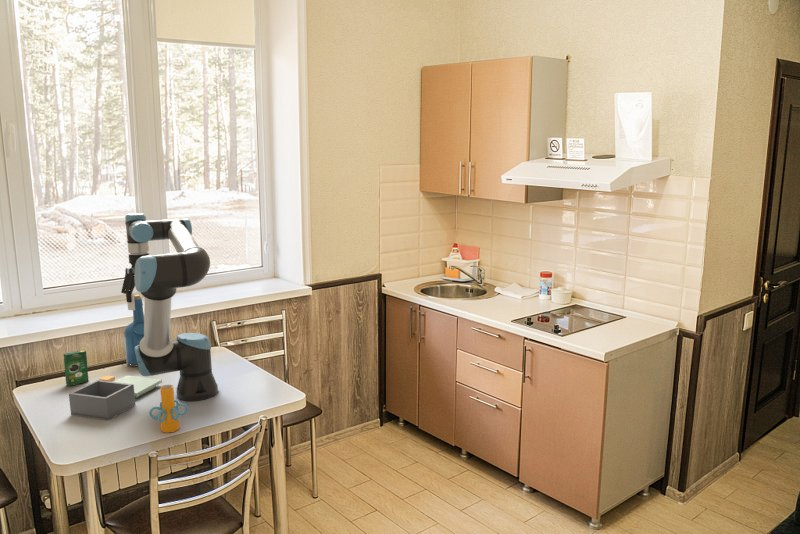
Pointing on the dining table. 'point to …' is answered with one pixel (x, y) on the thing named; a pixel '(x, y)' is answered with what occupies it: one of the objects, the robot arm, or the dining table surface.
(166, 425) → the orange post with rings
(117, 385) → the tub
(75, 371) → the coffee box
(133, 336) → the wine bottle
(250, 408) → the dining table surface
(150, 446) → the dining table surface
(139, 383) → the lid
